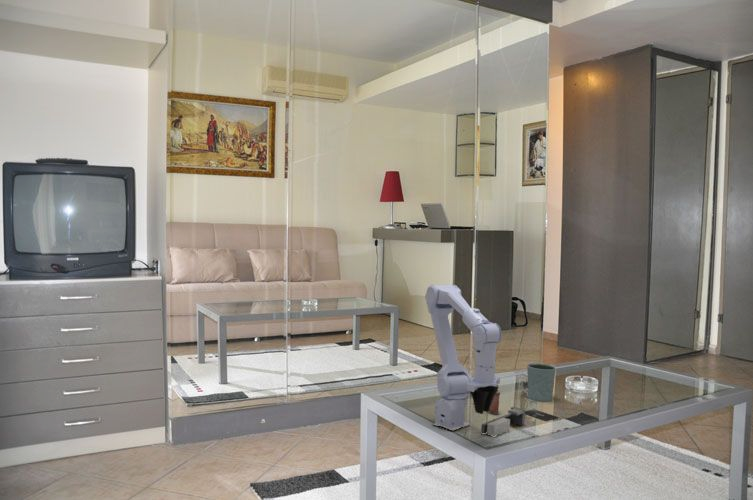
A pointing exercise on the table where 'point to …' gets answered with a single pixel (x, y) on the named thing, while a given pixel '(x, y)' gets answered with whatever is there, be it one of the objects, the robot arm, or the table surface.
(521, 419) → the bracket
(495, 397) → the lighter
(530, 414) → the solid state drive
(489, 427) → the bar
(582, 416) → the table surface
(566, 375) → the table surface
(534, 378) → the green plant pot
